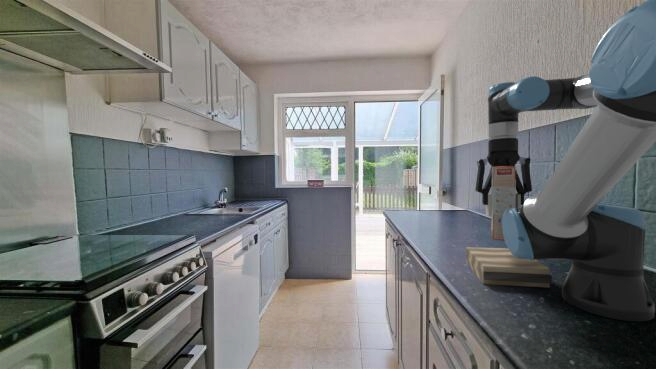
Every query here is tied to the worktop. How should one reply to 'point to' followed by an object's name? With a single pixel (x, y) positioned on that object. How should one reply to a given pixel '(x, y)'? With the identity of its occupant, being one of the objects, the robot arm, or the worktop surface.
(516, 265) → the dock
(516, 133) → the robot arm
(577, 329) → the worktop surface
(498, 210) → the cracker box
